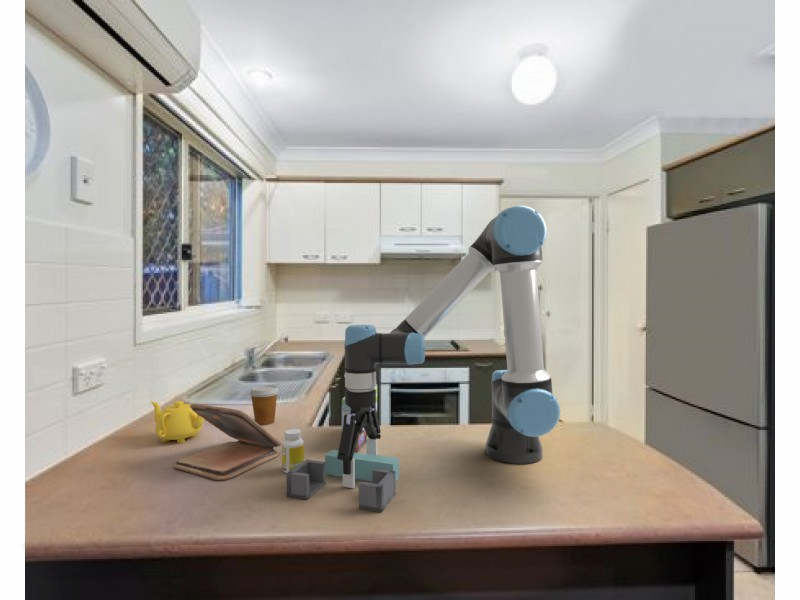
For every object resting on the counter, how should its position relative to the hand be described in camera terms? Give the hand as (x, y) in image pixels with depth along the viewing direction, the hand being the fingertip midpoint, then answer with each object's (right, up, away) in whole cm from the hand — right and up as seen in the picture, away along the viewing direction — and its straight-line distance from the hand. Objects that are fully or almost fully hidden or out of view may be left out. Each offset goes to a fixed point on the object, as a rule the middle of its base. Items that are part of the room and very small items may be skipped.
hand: (360, 475), depth 107 cm
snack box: (-2, 0, +26) cm, 26 cm away
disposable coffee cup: (-37, 0, +45) cm, 58 cm away
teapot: (-59, 0, +28) cm, 65 cm away
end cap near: (+5, 0, -13) cm, 14 cm away
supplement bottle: (-18, 0, +4) cm, 18 cm away
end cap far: (-12, 0, -8) cm, 14 cm away
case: (-36, -1, +11) cm, 38 cm away
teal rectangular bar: (0, 0, 0) cm, 0 cm away
